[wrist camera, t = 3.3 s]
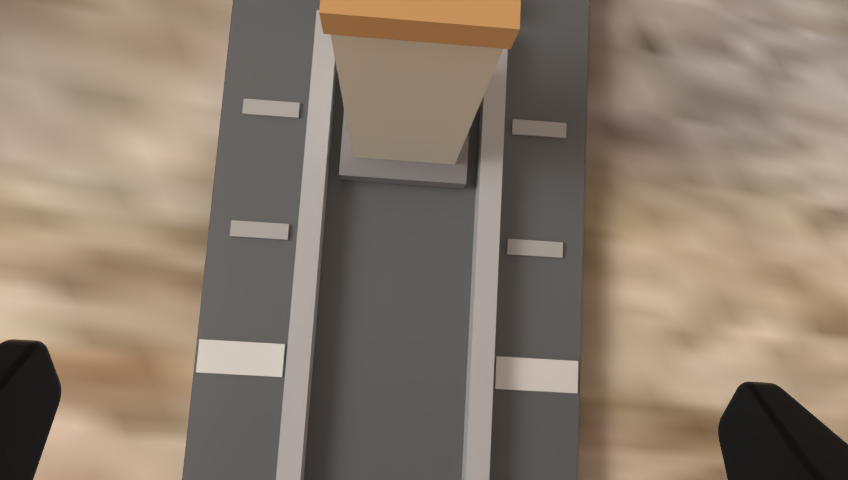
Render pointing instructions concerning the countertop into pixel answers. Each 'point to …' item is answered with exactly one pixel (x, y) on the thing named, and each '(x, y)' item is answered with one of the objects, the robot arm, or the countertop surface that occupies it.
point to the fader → (414, 83)
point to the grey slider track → (391, 274)
